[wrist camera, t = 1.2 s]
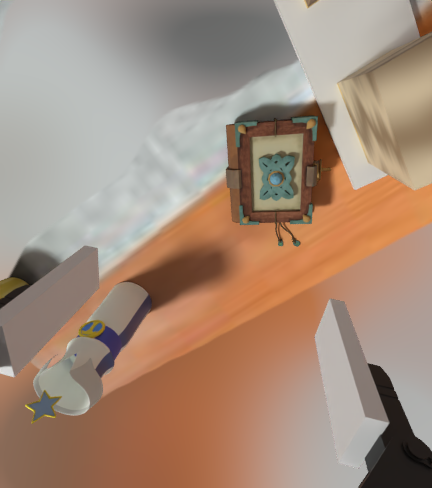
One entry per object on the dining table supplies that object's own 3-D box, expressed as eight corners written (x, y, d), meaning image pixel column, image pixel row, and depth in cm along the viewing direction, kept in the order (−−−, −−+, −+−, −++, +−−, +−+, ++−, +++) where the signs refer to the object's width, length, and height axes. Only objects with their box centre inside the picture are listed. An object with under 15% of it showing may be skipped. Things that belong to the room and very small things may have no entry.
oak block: (336, 83, 33) (372, 71, 21) (393, 49, 31) (467, 15, 19) (368, 162, 36) (414, 190, 24) (421, 137, 34) (501, 153, 22)
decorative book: (234, 245, 45) (230, 260, 40) (226, 121, 38) (220, 123, 33) (325, 244, 42) (332, 261, 38) (336, 112, 35) (345, 113, 31)
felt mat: (228, -106, 28) (227, -112, 28) (341, -213, 25) (343, -222, 24) (353, 188, 38) (355, 190, 37) (448, 144, 34) (452, 145, 34)
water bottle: (102, 278, 52) (-26, 410, 29) (148, 280, 50) (50, 421, 28) (112, 316, 55) (4, 459, 33) (155, 319, 53) (73, 472, 31)
